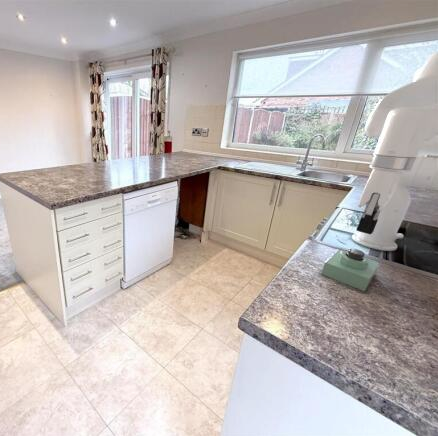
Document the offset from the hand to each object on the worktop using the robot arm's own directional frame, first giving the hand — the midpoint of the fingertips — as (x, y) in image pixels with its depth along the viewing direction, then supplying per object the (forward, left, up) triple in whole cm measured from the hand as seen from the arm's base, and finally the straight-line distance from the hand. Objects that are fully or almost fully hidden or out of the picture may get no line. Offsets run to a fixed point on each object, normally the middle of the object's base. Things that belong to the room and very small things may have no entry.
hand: (364, 231), depth 66 cm
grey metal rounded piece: (0, 0, -8) cm, 8 cm away
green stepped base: (0, 0, -14) cm, 14 cm away
